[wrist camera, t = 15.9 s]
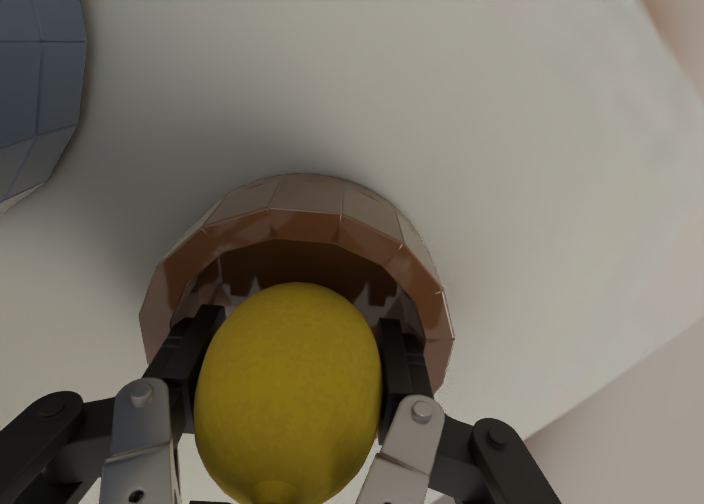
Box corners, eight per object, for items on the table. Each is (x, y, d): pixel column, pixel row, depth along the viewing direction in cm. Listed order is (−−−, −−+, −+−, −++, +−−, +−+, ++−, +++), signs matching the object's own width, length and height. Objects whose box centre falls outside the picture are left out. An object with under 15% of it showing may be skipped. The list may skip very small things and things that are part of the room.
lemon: (306, 214, 14) (263, 386, 7) (403, 309, 16) (445, 519, 9) (206, 300, 16) (91, 509, 9) (305, 377, 18) (276, 599, 11)
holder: (192, 378, 19) (161, 444, 16) (166, 160, 14) (115, 193, 11) (410, 392, 19) (422, 459, 16) (457, 186, 15) (487, 225, 12)
